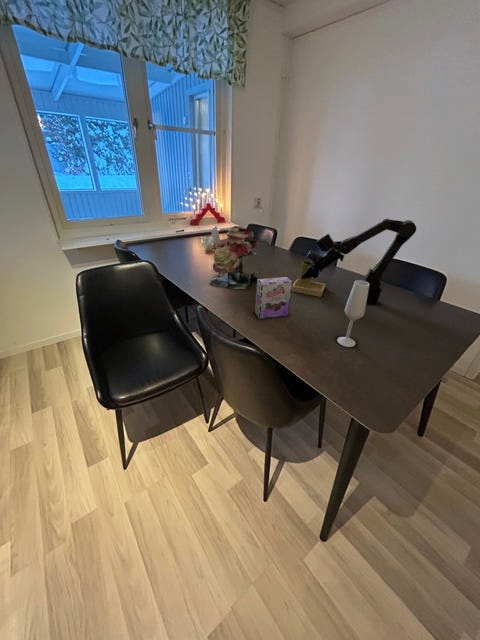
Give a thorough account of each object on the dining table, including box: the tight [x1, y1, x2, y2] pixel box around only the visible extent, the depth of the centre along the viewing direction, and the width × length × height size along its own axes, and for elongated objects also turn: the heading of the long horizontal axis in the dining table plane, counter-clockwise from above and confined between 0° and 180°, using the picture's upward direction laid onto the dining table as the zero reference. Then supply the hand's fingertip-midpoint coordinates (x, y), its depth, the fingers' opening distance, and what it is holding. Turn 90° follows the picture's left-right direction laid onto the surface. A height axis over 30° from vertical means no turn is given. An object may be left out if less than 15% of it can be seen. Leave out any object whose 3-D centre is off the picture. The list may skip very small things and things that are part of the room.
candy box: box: [254, 276, 293, 320], centre depth 117 cm, size 14×6×16 cm, turn 105°
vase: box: [298, 260, 313, 289], centre depth 143 cm, size 6×6×14 cm
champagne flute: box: [336, 279, 369, 348], centre depth 98 cm, size 7×7×24 cm
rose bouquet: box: [209, 225, 262, 290], centre depth 146 cm, size 26×29×30 cm
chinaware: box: [199, 225, 222, 252], centre depth 209 cm, size 28×17×17 cm, turn 17°
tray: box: [291, 278, 327, 298], centre depth 145 cm, size 16×12×3 cm
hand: (302, 276), depth 143 cm, fingers closed on vase, 5 cm apart
